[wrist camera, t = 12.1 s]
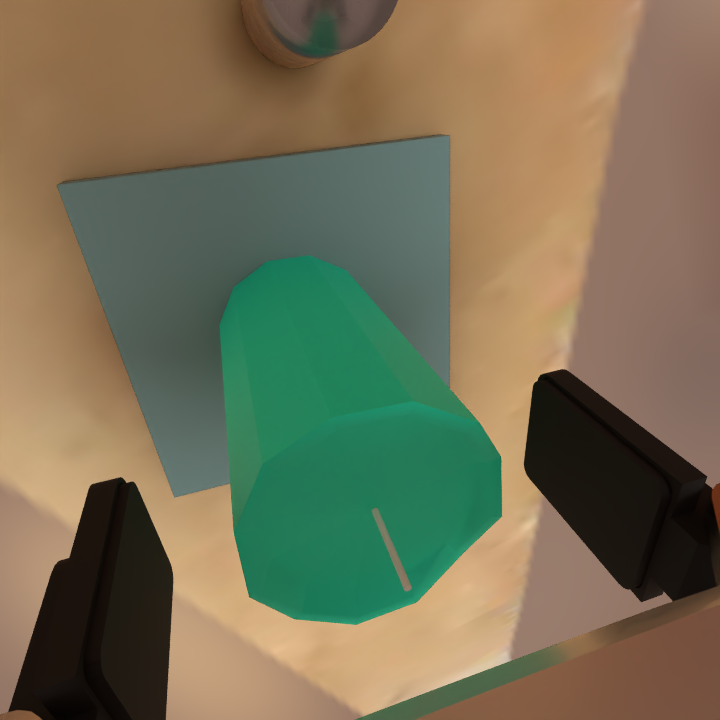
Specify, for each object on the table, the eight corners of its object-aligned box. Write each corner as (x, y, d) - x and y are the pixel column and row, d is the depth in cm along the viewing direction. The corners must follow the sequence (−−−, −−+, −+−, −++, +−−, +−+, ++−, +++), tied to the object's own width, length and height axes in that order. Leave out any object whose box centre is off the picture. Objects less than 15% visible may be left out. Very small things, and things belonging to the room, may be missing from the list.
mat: (63, 181, 15) (56, 185, 15) (440, 134, 18) (450, 135, 17) (175, 485, 22) (174, 497, 21) (442, 418, 24) (449, 427, 24)
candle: (259, 417, 20) (316, 731, 10) (189, 293, 17) (167, 567, 7) (388, 359, 21) (566, 603, 11) (342, 229, 18) (532, 395, 7)
